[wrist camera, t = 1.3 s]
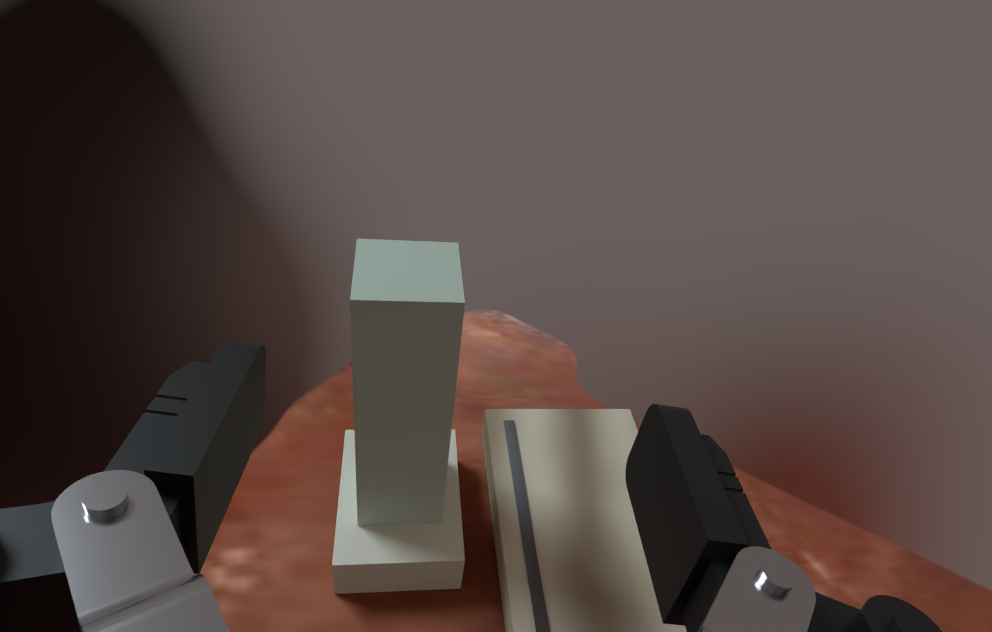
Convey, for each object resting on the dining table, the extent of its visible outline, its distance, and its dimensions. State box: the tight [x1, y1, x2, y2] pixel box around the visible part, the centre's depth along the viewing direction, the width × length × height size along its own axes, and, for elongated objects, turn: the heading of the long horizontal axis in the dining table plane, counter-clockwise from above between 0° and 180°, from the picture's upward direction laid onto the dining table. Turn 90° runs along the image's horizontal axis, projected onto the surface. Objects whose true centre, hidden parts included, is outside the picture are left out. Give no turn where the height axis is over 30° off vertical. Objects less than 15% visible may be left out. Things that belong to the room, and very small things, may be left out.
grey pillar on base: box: [332, 239, 465, 594], centre depth 29 cm, size 6×8×16 cm
